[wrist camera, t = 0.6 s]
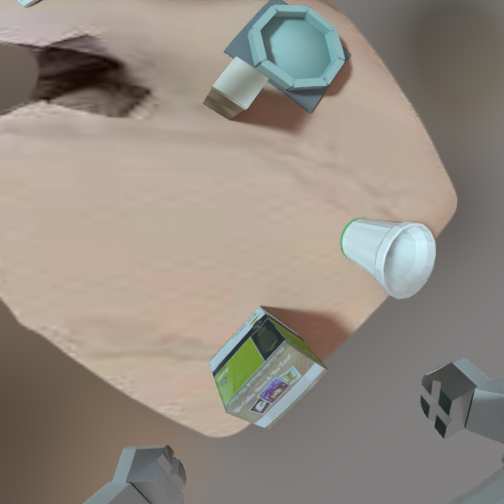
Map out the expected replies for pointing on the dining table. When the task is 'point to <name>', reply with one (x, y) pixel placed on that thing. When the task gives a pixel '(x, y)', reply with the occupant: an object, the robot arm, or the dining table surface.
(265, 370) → the tea box
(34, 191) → the dining table surface
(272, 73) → the bowl
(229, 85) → the lidded brown carton
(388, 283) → the cup
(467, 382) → the robot arm
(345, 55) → the place mat
